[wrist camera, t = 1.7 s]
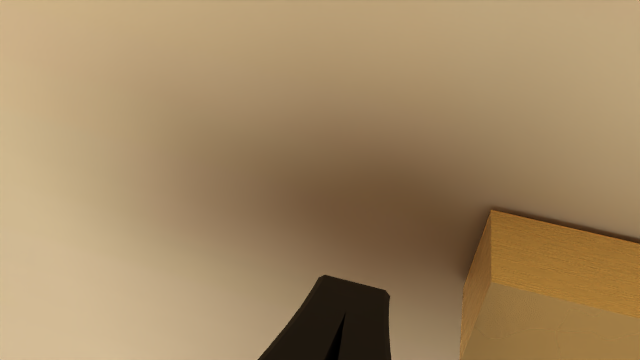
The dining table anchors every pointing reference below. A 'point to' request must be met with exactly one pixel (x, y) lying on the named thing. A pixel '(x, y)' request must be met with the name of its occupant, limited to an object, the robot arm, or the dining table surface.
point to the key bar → (550, 294)
